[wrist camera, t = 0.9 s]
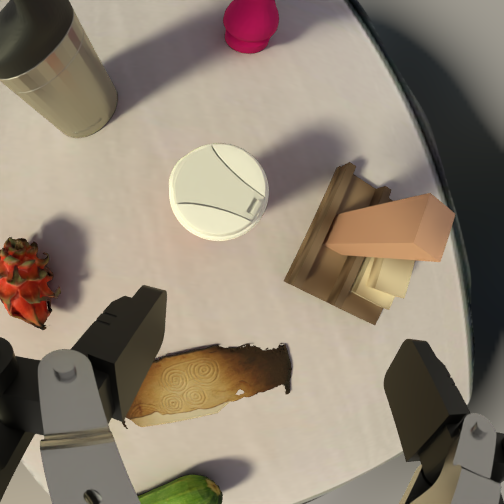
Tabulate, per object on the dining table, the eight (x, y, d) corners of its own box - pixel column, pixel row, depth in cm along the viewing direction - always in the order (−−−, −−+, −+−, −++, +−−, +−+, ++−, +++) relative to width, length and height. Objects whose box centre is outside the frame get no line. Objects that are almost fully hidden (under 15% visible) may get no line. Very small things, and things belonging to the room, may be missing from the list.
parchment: (122, 428, 35) (121, 431, 34) (95, 368, 34) (93, 370, 33) (295, 390, 38) (297, 393, 37) (280, 325, 38) (282, 327, 37)
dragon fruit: (35, 229, 34) (65, 310, 36) (-17, 251, 28) (16, 335, 31) (40, 219, 28) (77, 319, 30) (-24, 246, 22) (17, 350, 25)
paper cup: (259, 197, 36) (289, 169, 23) (228, 254, 36) (240, 259, 22) (202, 165, 35) (199, 120, 22) (169, 222, 35) (146, 207, 21)
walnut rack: (371, 323, 39) (384, 329, 35) (283, 281, 37) (291, 284, 34) (414, 219, 40) (429, 218, 36) (336, 167, 38) (348, 161, 34)
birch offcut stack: (379, 306, 38) (398, 312, 33) (345, 288, 37) (362, 293, 33) (409, 232, 38) (430, 231, 34) (378, 211, 38) (397, 207, 33)
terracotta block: (341, 255, 37) (440, 262, 19) (321, 243, 37) (413, 242, 19) (354, 226, 37) (455, 214, 19) (335, 214, 37) (430, 192, 19)
